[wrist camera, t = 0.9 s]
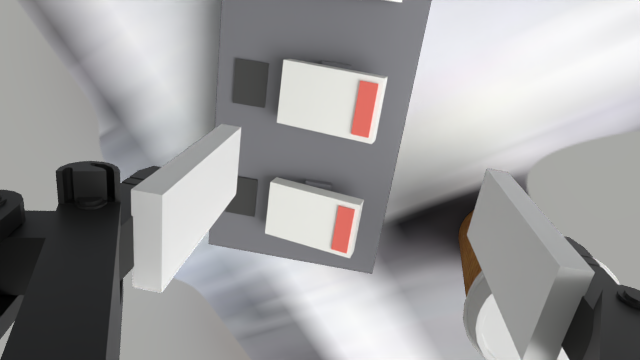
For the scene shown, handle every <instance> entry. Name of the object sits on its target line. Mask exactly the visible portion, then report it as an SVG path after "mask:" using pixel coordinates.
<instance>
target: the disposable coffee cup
mask: <svg viewBox="0 0 640 360" xmlns="http://www.w3.org/2000/svg"><path fill="white" fill-rule="evenodd" d="M473 212H474V210H473V211H472V212H470V213H469V214H468V215H467V216H466V218H465V219H464V221H463V222H462V224H461V227H460V229H459V245H460V252H461V260H462V268H463V277H464V284H465V292H466V300H465V303H464V312H463V322H464V326H465V330H466V333H467V336H468V338H469V340H470V342H471V343H472V345H473V347H474V348H475V349H476V350H477V351H478V352H479V353H480V354H481V355H482V356H483V357H484V358H486V359H487V360H521V359H520V356H519V354H518V352H517V349H516V347H515V345H514V342H513V340H512V338H511V336H510V333H509V331H508V329H507V326H506V324H505V322H504V319H503V317H502V315H501V313H500V310H499V308H498V306H497V303H496V301H495V299H494V296H493V294H492V292H491V289H490V287H489V285H488V283H487V280H486V278H485V276H484V273H483V271H482V269H481V266H480V264H479V262H478V260H477V257H476V255H475V253H474V250H473V248H472V246H471V243H470V241H469V239H468V236H467V232H468V229H469V226H470V222H471V219H472V216H473ZM593 259H595V258H593ZM595 260H596V261H597V262H598V263H599V264H600V267H602V268H603V269H604V270H605V271H606V272H607V273H608V274H609V275H610V276H611V277H612V278H613V280H614V281H615V282H616V283H617V284H618V285H620V284H619V282H618V280H617V278H616V277H615V275H614V274H613V273H612V272H611V271H610V270H609V269H608V267H606V266H605V265H604V264H602V263H601V262H600V261H598V260H597V259H595ZM557 360H569V358H568V357H567V355H566V353H565V351H564V350H563V348H562V349H561V351H560V353H559V356H558V358H557Z"/></svg>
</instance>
